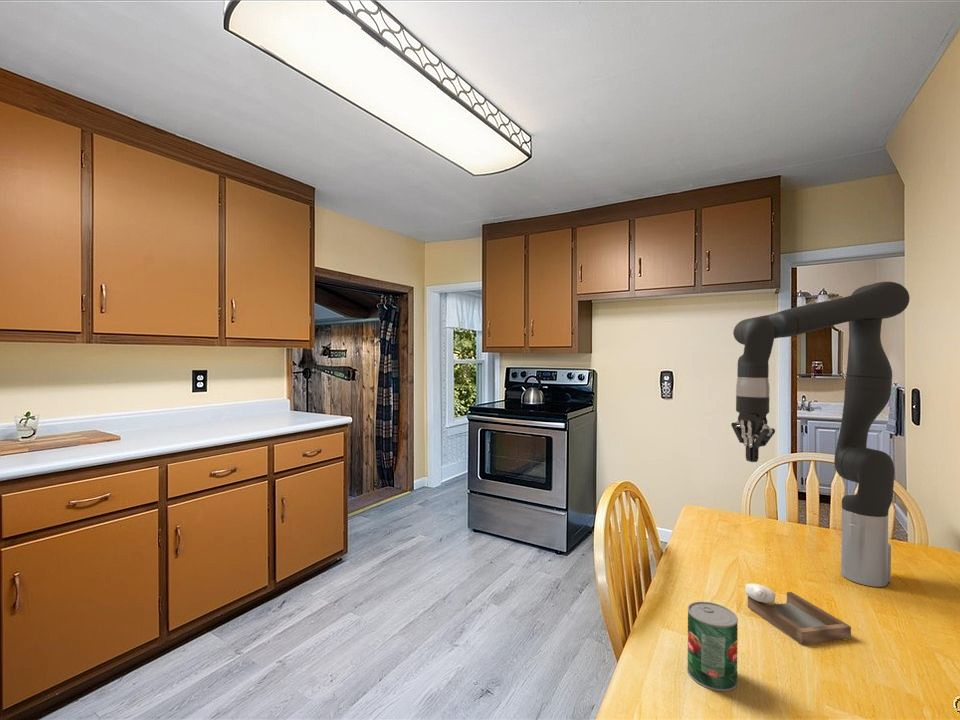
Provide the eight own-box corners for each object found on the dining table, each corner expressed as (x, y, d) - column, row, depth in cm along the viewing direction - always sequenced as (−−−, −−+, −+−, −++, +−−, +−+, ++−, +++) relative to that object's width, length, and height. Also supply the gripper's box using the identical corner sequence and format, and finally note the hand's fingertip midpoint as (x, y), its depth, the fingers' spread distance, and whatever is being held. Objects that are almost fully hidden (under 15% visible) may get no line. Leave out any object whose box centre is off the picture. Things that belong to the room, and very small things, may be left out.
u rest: (791, 602, 108) (791, 591, 108) (850, 639, 94) (851, 626, 94) (747, 607, 106) (747, 596, 106) (801, 645, 92) (802, 632, 92)
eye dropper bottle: (766, 611, 107) (764, 611, 98) (743, 590, 111) (739, 589, 101) (779, 597, 107) (779, 596, 98) (755, 576, 110) (753, 574, 101)
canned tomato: (747, 690, 79) (748, 625, 79) (702, 692, 78) (703, 626, 78) (720, 660, 87) (720, 600, 87) (678, 662, 86) (679, 602, 86)
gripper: (785, 396, 117) (785, 466, 117) (746, 392, 130) (745, 455, 130) (759, 397, 116) (758, 467, 116) (722, 393, 129) (721, 456, 129)
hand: (751, 461), depth 123 cm, fingers closed
